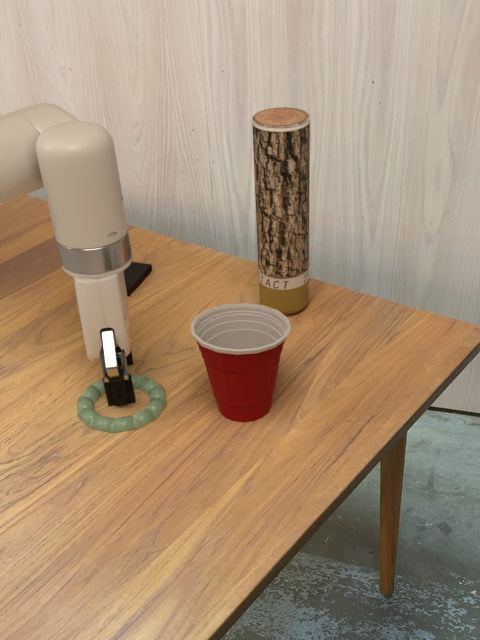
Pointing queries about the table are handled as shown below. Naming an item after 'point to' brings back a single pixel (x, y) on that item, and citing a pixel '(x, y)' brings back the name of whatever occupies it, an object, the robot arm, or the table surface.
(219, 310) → the plastic cup
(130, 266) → the ring stand
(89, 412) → the ring
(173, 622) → the table surface
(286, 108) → the paper tube
